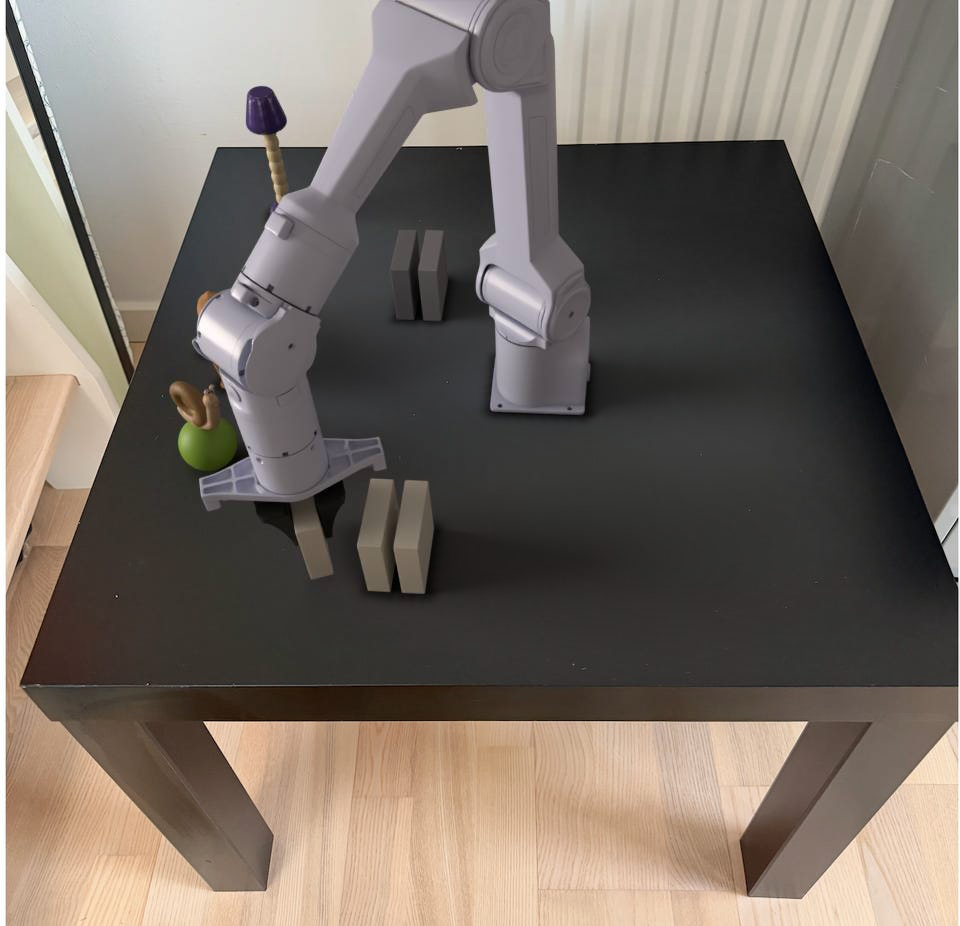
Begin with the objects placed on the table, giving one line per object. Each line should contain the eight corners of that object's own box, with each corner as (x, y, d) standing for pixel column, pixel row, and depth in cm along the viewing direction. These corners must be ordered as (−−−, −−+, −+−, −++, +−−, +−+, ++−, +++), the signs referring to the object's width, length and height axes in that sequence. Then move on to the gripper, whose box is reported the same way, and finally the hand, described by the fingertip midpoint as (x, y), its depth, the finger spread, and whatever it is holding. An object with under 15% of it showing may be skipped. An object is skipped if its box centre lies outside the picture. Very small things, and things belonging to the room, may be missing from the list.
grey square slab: (422, 279, 105) (417, 229, 100) (414, 320, 101) (408, 270, 96) (405, 279, 105) (399, 229, 100) (396, 319, 101) (389, 269, 96)
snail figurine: (224, 494, 86) (189, 408, 77) (175, 468, 88) (135, 381, 79) (262, 456, 89) (232, 369, 80) (213, 432, 91) (179, 344, 82)
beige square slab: (320, 511, 83) (306, 463, 77) (334, 574, 78) (320, 527, 73) (299, 517, 82) (283, 468, 77) (311, 580, 78) (295, 533, 73)
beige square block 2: (434, 528, 83) (428, 480, 77) (424, 594, 78) (417, 548, 73) (412, 527, 83) (405, 479, 78) (401, 592, 79) (393, 547, 73)
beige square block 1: (401, 526, 83) (393, 479, 78) (390, 592, 79) (381, 546, 73) (380, 525, 83) (370, 478, 78) (367, 590, 79) (356, 545, 73)
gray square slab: (447, 280, 105) (444, 230, 100) (441, 321, 101) (436, 270, 95) (430, 280, 105) (426, 229, 100) (423, 320, 101) (417, 270, 95)
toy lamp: (314, 212, 114) (288, 86, 101) (290, 232, 112) (261, 105, 99) (285, 201, 116) (256, 76, 103) (261, 220, 114) (228, 94, 101)
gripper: (364, 372, 72) (384, 478, 82) (180, 413, 70) (224, 517, 80) (383, 436, 68) (401, 540, 78) (186, 482, 65) (232, 582, 76)
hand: (312, 532), depth 79 cm, fingers closed on beige square slab, 2 cm apart
